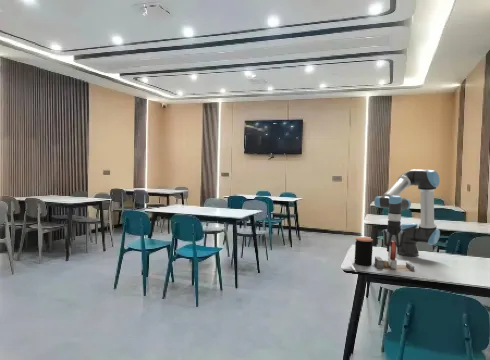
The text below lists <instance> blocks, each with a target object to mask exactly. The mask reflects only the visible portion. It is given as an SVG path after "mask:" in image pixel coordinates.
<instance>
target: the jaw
mask: <svg viewBox="0 0 490 360" xmlns="http://www.w3.org/2000/svg"><path fill="white" fill-rule="evenodd" d="M390 247H391V256H390V257H388V256H387V261H388V263H389V266H390V267H391V268H393V269H396V267H397V265H398V264H397V263H398V260H396V258H395V251H396V240H395V241H394V240H391V243H390Z"/></svg>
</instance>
